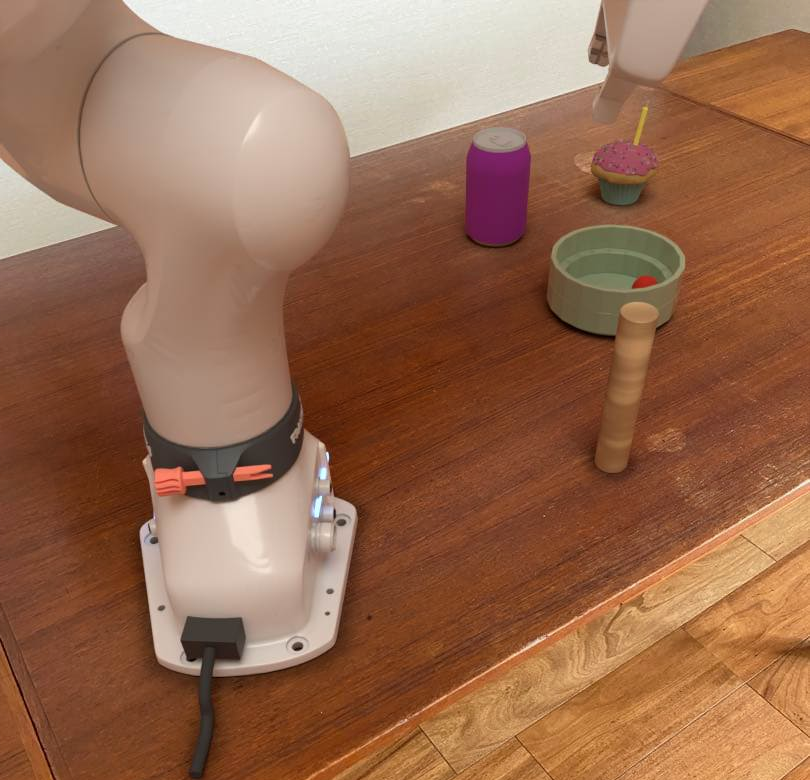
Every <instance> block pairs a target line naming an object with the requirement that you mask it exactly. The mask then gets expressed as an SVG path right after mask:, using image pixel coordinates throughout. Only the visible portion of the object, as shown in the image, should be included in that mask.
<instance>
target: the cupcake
mask: <svg viewBox="0 0 810 780" xmlns="http://www.w3.org/2000/svg"><path fill="white" fill-rule="evenodd" d="M649 103H650V100H647V102H646V105H645V106H643V107H642V111H641V115H640V118H639V121H638V124H637V129H636V132H635V136H634V139H633V140H632V139H631V138H621V139H619V140H614V141H612V142H609V143H606V144H604V145H603V146H601V147H600V148H599V149H598V150H596V151H595V152H594V153H593V157H592V161H591V164H590V172H591V175H593V176H594V177H596V179H597V180H598V183H599V188H600V194H601V195H600V196H601V198H602V200H603V201H604V202H606V203H607V204H610V205H614V206H629V205H632V204H634V203H636V202H637V201H638V200H639V197H640V195H641V193H642V191H643V189H644V188H645V186H646V184H647V183H648V181H649V180H652V178H654V177H655V176H656V175H657V173H658V170H659V156H658V154H657V153H655V151H654V148H652V147H650V146H649V144H646V143H644V142H641V141H640V139H641V136H642V132H643V129H644V125H645V122H646V118H647V115H648V112H649V107H648V106H649Z"/></svg>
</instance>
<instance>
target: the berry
mask: <svg viewBox="0 0 810 780" xmlns="http://www.w3.org/2000/svg"><path fill="white" fill-rule="evenodd" d="M656 284H659V283H658V282H657V280H656V279H655V278H653V277H651V276H641V277H639V278H638V279H637V280H635V282H634V283H633V285H632V289H636V288H646V287H649V286H653V285H656Z"/></svg>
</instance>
